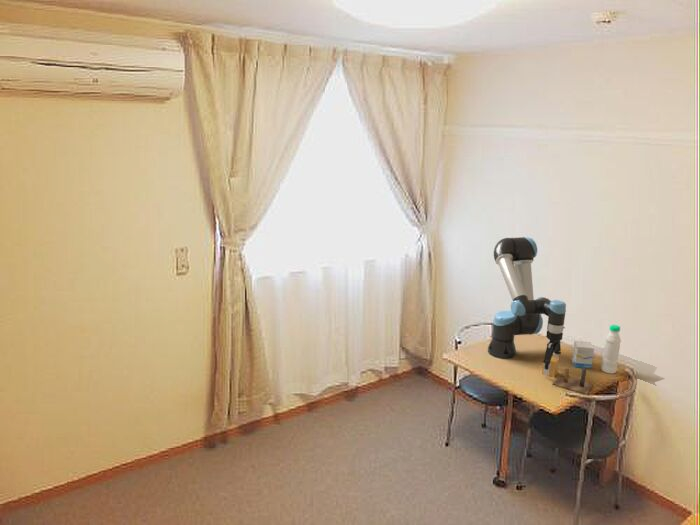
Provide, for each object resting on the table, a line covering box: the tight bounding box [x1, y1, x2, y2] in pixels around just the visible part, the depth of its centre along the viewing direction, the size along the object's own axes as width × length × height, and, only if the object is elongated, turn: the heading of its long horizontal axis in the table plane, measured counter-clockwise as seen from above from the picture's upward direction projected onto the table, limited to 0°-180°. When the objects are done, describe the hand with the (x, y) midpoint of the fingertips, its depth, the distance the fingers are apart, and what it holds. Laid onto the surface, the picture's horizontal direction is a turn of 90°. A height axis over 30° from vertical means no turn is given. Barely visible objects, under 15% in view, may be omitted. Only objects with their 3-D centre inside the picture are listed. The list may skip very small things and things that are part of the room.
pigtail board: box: [552, 368, 594, 395], centre depth 253 cm, size 16×12×10 cm
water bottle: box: [600, 324, 622, 374], centre depth 267 cm, size 7×7×25 cm
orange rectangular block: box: [541, 356, 560, 378], centre depth 266 cm, size 6×6×8 cm
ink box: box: [571, 340, 595, 370], centre depth 275 cm, size 9×8×12 cm
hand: (550, 370), depth 266 cm, fingers open, 13 cm apart
